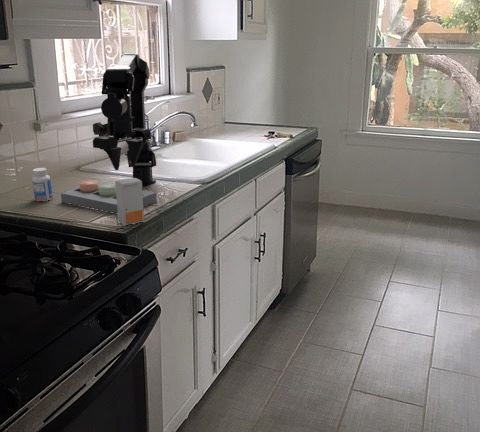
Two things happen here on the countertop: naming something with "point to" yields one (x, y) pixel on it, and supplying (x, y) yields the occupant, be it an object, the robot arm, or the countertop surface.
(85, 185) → the button terracotta
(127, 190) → the skincare box
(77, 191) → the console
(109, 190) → the button sage
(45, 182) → the pill bottle
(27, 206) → the countertop surface
